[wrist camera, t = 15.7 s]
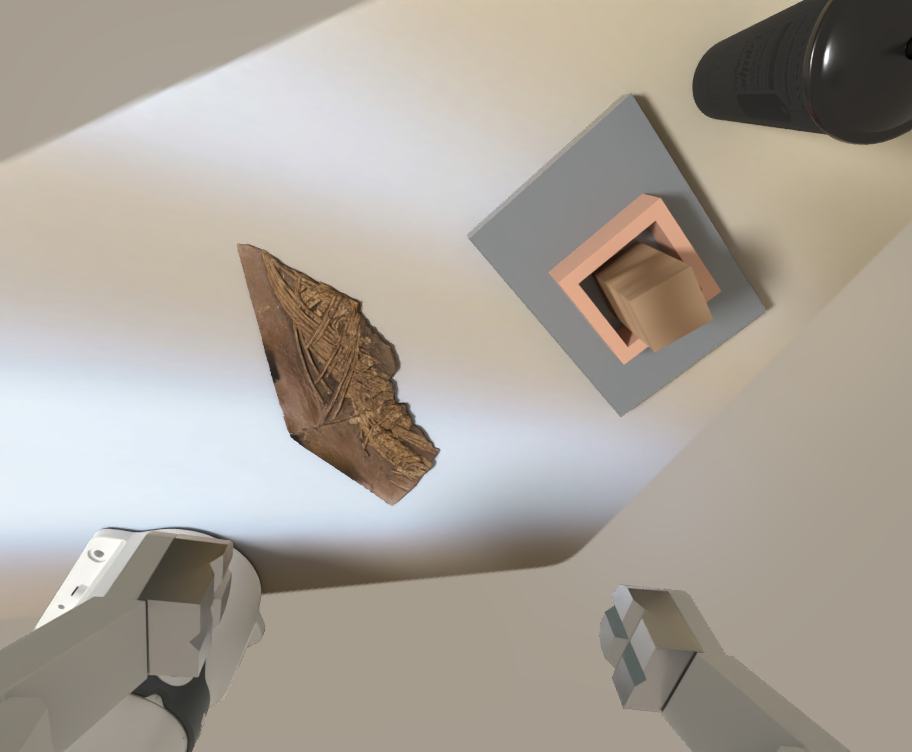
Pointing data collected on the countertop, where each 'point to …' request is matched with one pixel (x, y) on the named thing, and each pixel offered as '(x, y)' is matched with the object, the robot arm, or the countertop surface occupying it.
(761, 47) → the drinking cup
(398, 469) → the wooden fragment
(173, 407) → the countertop surface
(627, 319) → the brown wooden block
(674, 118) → the countertop surface
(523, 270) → the stand
